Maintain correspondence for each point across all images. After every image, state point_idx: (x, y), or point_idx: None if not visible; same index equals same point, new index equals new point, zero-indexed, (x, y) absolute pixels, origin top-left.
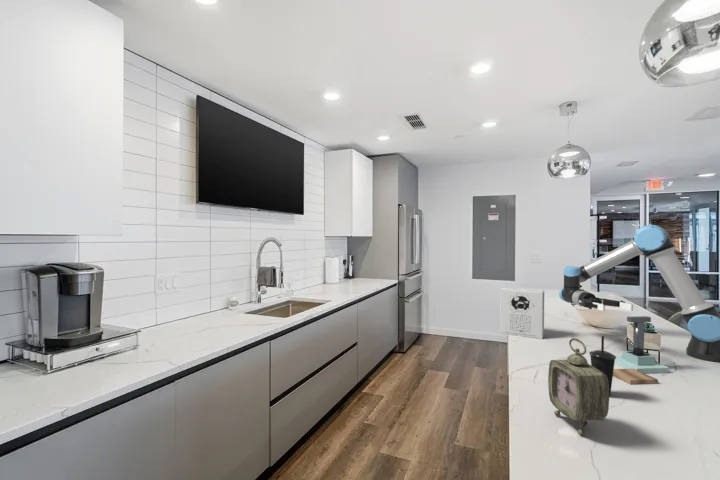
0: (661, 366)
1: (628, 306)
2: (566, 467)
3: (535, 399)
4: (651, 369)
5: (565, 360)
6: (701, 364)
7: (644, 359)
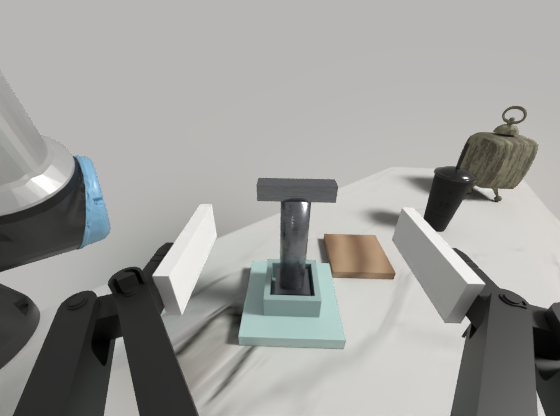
0: (262, 267)
1: (207, 230)
2: None
3: (532, 223)
4: None
5: (519, 138)
6: None
7: None
